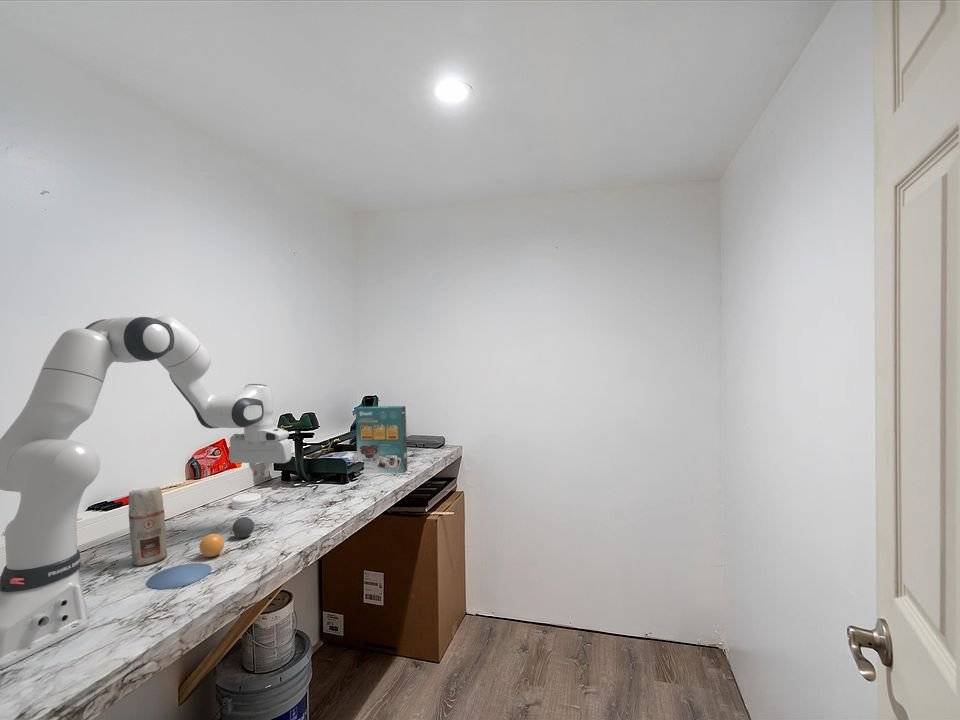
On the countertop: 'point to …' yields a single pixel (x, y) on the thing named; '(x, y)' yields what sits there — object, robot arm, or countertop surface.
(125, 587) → the countertop surface
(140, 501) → the beige paper tall bag
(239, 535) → the black ball
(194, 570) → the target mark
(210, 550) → the orange ball
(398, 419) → the cake mix box
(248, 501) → the coaster
